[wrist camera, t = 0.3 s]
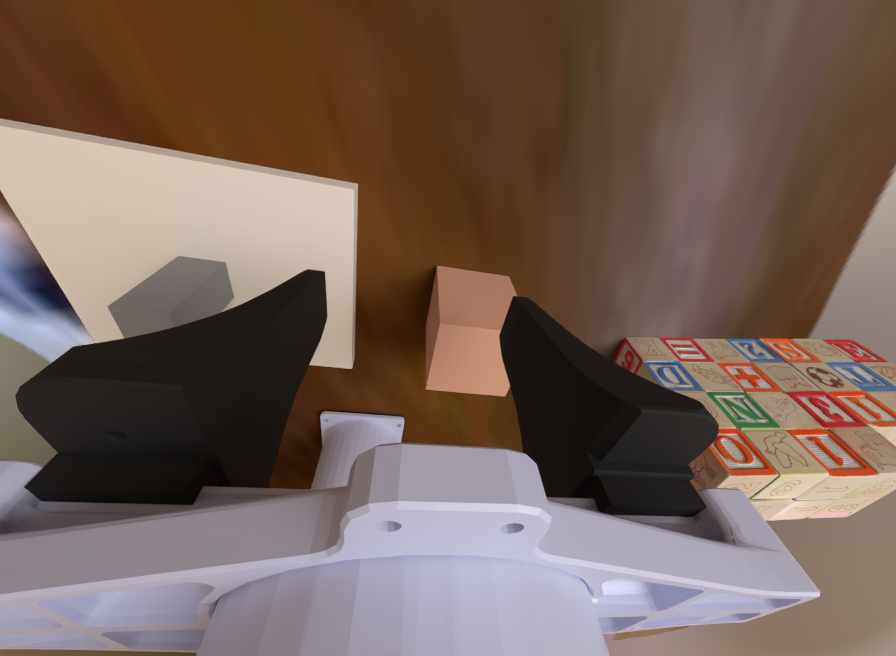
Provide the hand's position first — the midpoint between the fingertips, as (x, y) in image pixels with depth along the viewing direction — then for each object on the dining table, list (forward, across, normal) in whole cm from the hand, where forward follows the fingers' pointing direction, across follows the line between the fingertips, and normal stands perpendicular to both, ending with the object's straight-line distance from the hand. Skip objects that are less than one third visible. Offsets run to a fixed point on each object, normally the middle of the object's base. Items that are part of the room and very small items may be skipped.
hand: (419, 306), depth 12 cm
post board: (+10, +13, +5) cm, 17 cm away
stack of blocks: (+10, -29, +9) cm, 32 cm away
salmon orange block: (+10, -4, +6) cm, 12 cm away
